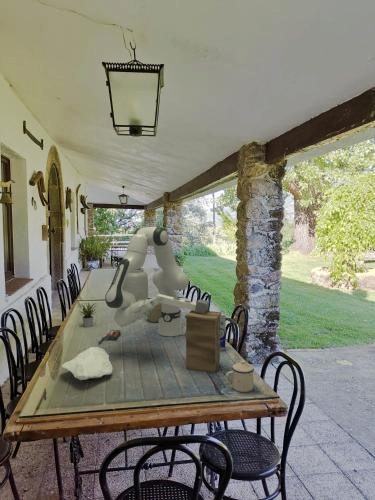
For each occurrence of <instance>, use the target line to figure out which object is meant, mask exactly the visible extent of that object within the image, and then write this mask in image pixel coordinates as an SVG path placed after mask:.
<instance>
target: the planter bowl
mask: <svg viewBox="0 0 375 500" xmlns="http://www.w3.org/2000/svg"><path fill="white" fill-rule="evenodd" d="M161 310H162V305H161V303H160V304H158V305H157V306H156V307H154V308H153V310H152V311H151V312H150V313H149V315H148V316H146V317H147V319H148V321H149V322H151V323H159V319H160V318H161Z"/></svg>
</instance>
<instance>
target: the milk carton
mask: <svg viewBox="0 0 375 500" xmlns="http://www.w3.org/2000/svg"><path fill="white" fill-rule="evenodd" d="M226 322H227V315H226V314H221V315H220V352H223V351H224V352H225V351H226V342H227V340H226V337H227V335H226V334H227V333H226V329H227V328H226V327H227V326H226V325H227V324H226Z"/></svg>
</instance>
